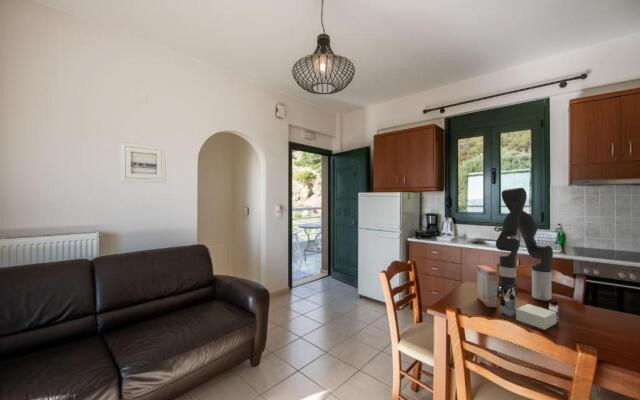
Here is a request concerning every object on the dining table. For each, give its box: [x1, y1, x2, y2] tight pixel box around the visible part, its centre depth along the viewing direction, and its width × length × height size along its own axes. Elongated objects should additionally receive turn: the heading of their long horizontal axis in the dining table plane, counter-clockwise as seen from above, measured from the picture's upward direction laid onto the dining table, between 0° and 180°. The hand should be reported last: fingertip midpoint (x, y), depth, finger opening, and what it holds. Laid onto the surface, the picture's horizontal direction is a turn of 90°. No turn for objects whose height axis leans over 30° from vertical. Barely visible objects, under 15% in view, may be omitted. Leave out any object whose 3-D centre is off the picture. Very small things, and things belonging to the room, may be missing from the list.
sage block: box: [515, 303, 557, 330], centre depth 136 cm, size 12×12×6 cm
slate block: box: [500, 297, 517, 317], centre depth 146 cm, size 5×5×7 cm
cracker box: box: [477, 264, 498, 308], centre depth 160 cm, size 14×6×21 cm, turn 168°
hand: (507, 304), depth 146 cm, fingers open, 8 cm apart
